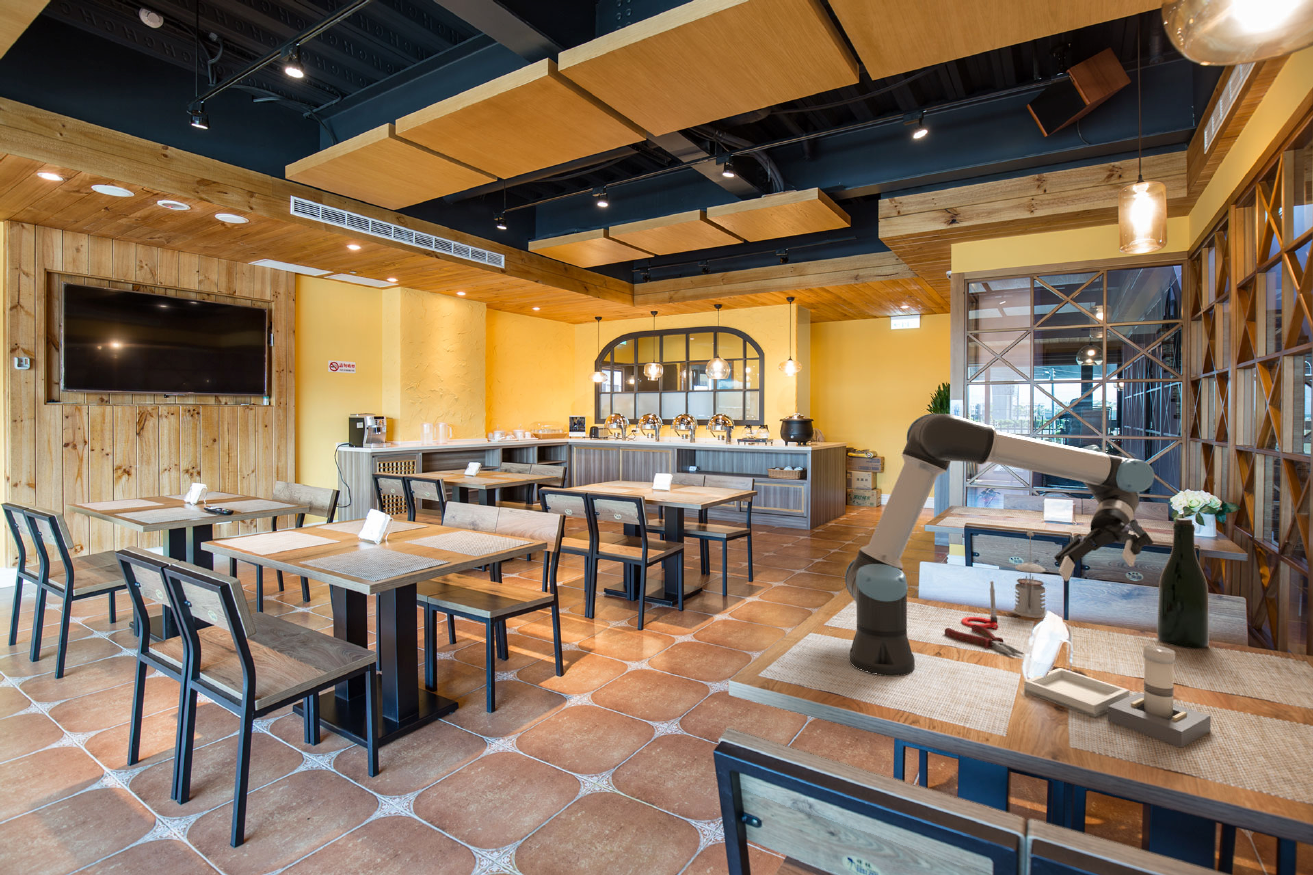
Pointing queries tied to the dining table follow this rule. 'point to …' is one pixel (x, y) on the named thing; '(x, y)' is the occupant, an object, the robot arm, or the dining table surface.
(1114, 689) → the parts tray
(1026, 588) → the french press
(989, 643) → the pliers
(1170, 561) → the dark green wine bottle
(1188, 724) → the fuse socket
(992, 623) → the tow hook
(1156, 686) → the cylinder
